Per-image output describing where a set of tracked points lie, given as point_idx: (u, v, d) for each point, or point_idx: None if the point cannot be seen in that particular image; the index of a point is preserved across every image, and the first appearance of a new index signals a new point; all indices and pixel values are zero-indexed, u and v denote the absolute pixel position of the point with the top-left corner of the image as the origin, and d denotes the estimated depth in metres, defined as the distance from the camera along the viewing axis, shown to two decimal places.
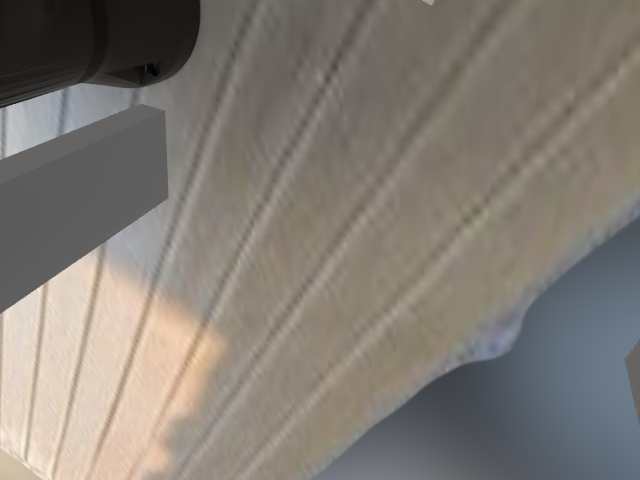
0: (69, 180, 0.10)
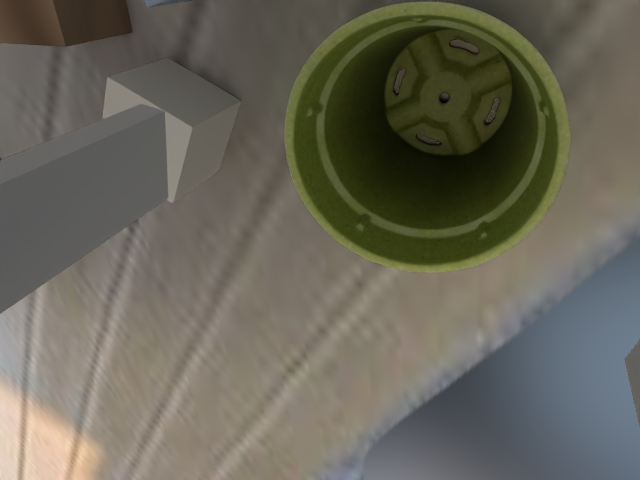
0: (69, 179, 0.10)
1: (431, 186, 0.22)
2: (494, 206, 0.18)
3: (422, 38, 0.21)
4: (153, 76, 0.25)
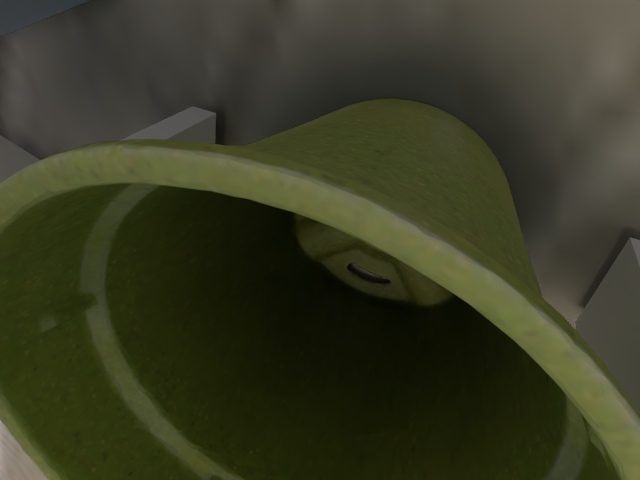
0: None
1: (361, 383, 0.12)
2: None
3: None
4: None
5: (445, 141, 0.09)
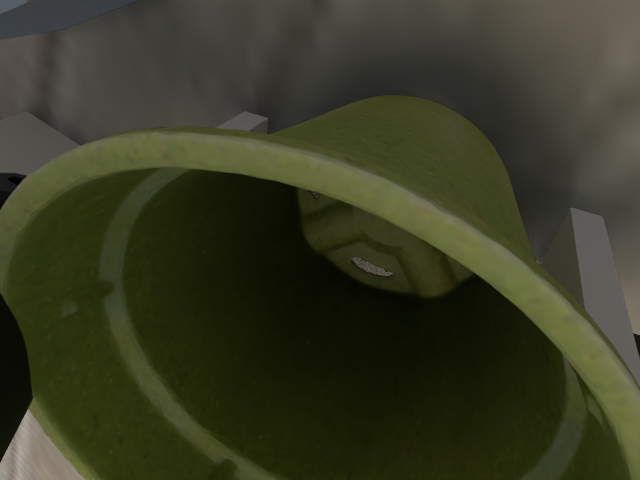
0: None
1: (366, 371, 0.12)
2: None
3: None
4: None
5: (449, 135, 0.09)
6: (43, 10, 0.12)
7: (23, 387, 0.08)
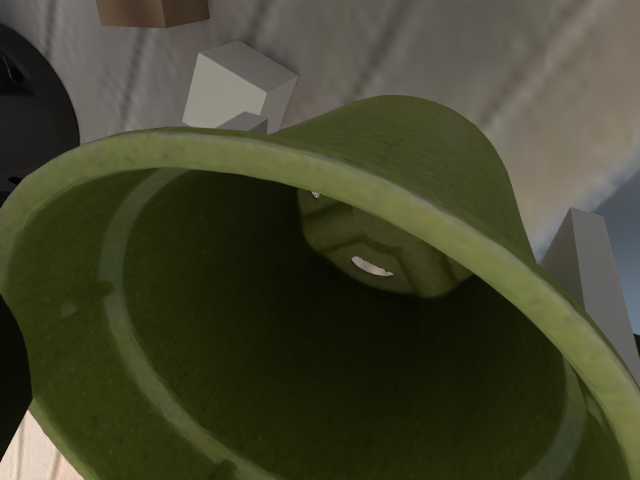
0: None
1: (365, 372, 0.12)
2: None
3: None
4: (231, 53, 0.31)
5: (449, 135, 0.09)
6: None
7: (23, 387, 0.08)
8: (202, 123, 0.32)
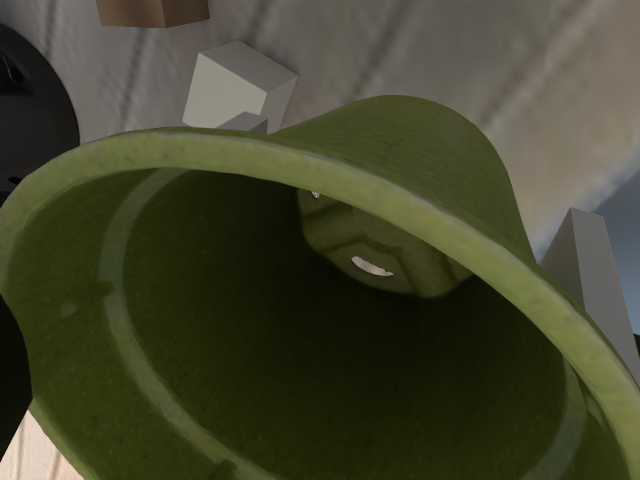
0: None
1: (366, 372, 0.12)
2: None
3: None
4: (231, 53, 0.31)
5: (449, 135, 0.09)
6: None
7: (23, 387, 0.08)
8: (202, 123, 0.32)
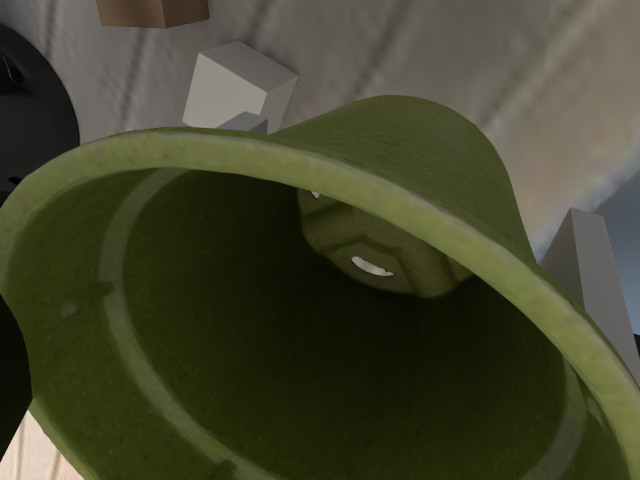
0: None
1: (366, 372, 0.12)
2: None
3: None
4: (231, 53, 0.31)
5: (449, 135, 0.09)
6: None
7: (23, 387, 0.08)
8: (202, 123, 0.32)
